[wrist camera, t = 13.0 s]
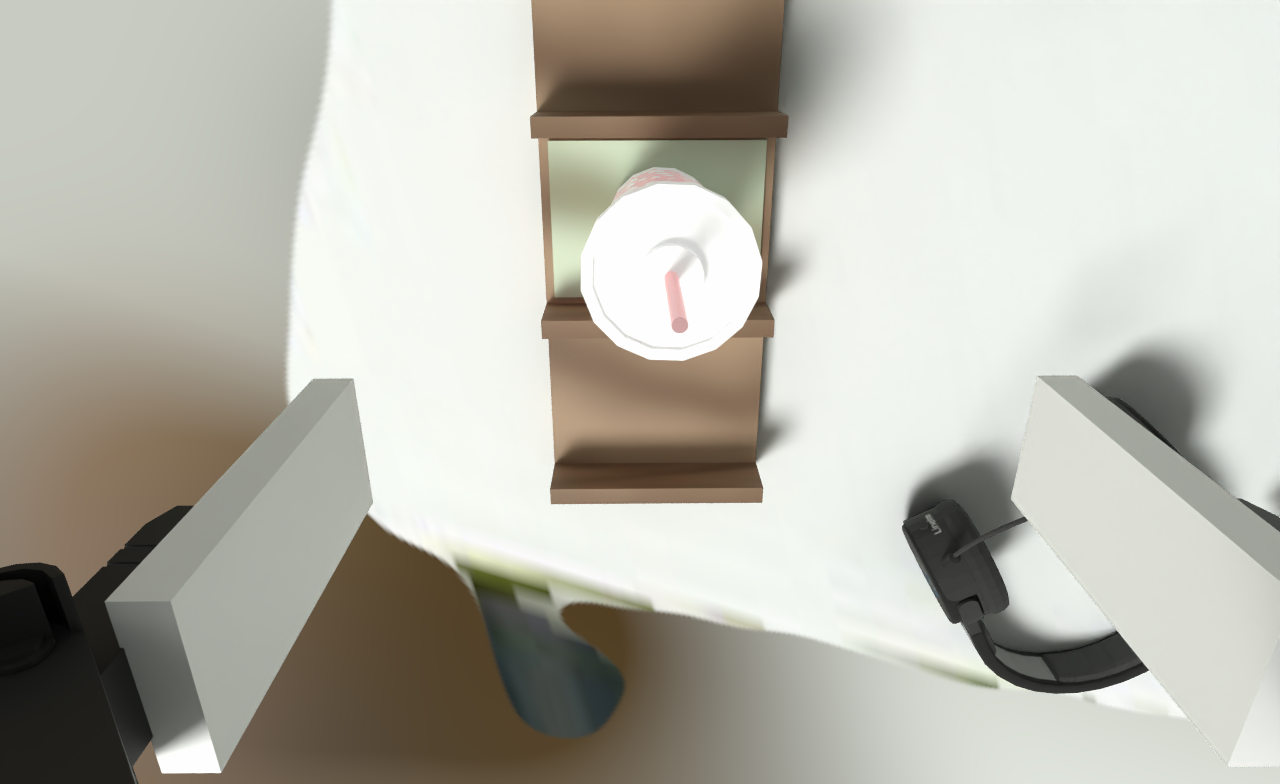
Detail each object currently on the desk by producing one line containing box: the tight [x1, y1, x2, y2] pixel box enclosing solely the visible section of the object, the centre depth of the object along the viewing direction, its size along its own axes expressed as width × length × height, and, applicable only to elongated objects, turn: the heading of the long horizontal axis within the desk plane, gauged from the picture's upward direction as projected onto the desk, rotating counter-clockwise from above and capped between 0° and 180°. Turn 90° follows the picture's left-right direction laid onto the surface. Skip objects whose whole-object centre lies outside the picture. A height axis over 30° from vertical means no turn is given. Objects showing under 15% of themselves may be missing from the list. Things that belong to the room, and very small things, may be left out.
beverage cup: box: [581, 167, 762, 361], centre depth 29 cm, size 6×6×14 cm
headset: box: [902, 397, 1183, 694], centre depth 39 cm, size 14×10×20 cm
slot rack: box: [530, 0, 788, 504], centre depth 35 cm, size 26×10×4 cm, turn 0°
